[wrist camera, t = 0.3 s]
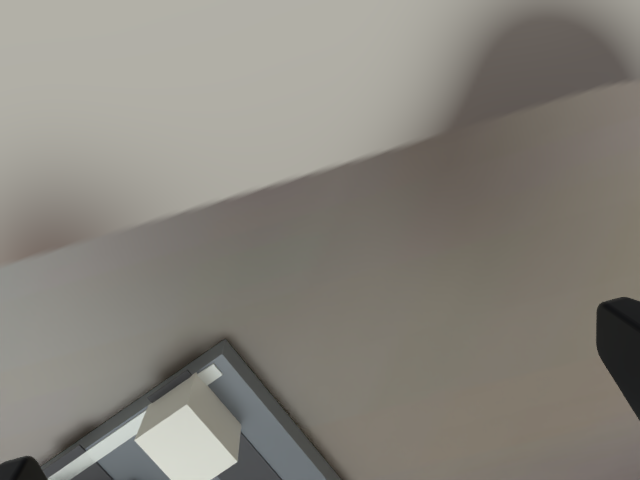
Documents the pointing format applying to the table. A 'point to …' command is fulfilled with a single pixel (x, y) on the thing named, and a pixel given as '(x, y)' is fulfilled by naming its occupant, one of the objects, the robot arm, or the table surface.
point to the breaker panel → (249, 412)
